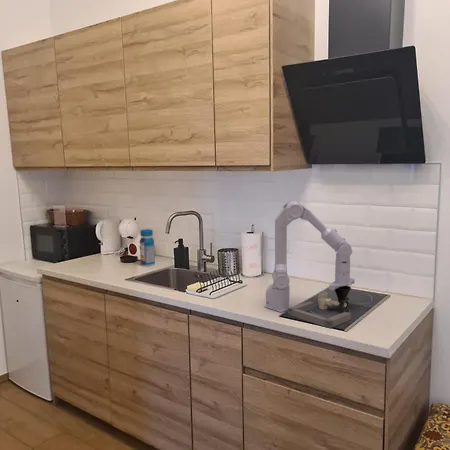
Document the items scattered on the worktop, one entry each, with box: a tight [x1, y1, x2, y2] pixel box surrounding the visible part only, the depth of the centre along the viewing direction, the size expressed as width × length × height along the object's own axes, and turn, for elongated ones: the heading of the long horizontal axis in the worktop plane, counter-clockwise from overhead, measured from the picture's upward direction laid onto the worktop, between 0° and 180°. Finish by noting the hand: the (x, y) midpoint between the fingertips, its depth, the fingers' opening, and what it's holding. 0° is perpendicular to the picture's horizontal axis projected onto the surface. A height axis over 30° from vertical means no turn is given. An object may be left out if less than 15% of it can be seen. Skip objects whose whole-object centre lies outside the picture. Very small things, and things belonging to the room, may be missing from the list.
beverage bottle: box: [139, 228, 156, 267], centre depth 268 cm, size 8×8×20 cm
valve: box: [317, 290, 351, 313], centre depth 188 cm, size 7×7×12 cm
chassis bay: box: [287, 300, 352, 329], centre depth 181 cm, size 20×13×2 cm, turn 41°
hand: (341, 303), depth 190 cm, fingers closed
